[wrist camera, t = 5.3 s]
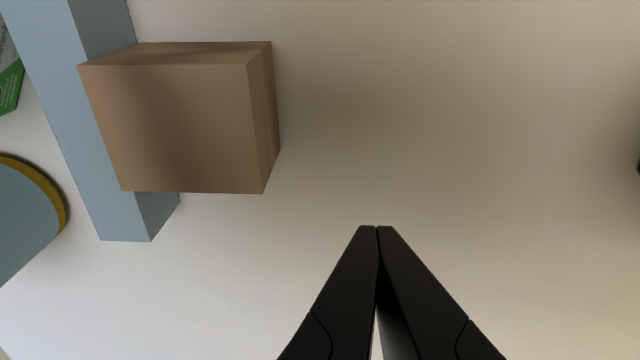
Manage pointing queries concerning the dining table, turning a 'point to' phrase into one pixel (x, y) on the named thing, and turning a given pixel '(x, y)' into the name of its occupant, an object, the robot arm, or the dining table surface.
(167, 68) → the walnut brick
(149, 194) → the light blue block
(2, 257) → the bottle
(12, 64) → the ink box
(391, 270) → the robot arm
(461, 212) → the dining table surface
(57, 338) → the dining table surface
